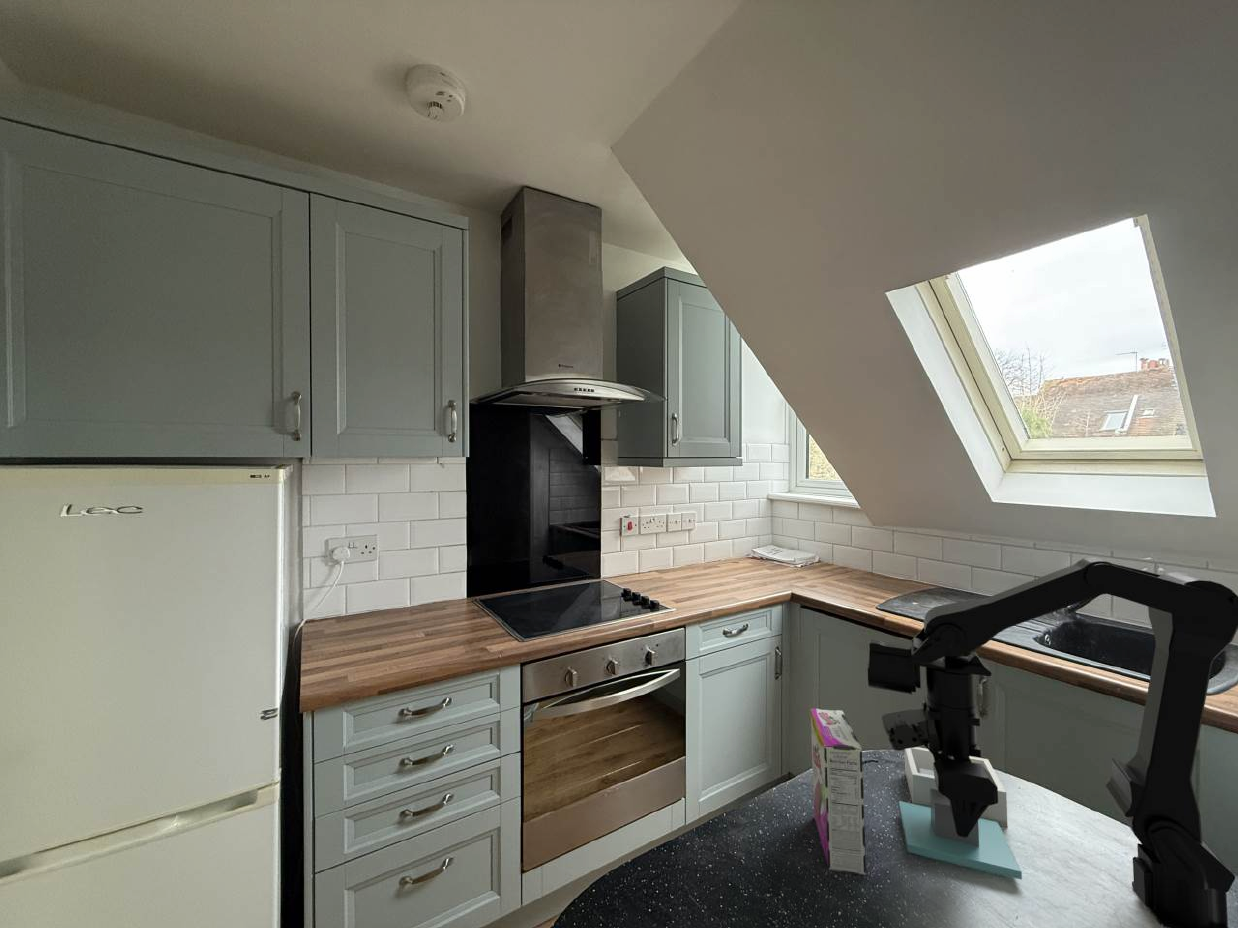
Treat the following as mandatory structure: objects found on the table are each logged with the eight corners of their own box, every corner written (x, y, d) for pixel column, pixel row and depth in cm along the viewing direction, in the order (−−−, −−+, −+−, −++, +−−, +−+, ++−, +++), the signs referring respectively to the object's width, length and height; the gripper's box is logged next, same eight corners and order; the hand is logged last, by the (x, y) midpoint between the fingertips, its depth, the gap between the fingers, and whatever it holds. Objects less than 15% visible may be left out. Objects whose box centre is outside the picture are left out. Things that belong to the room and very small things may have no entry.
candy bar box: (811, 815, 76) (809, 706, 77) (846, 820, 75) (843, 709, 76) (826, 872, 65) (823, 743, 66) (867, 877, 64) (864, 747, 65)
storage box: (988, 790, 82) (987, 759, 82) (1007, 827, 73) (1006, 792, 74) (905, 774, 87) (904, 744, 87) (913, 806, 78) (912, 774, 78)
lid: (998, 836, 72) (996, 789, 72) (1022, 887, 63) (1020, 834, 63) (899, 814, 76) (898, 770, 77) (908, 859, 67) (906, 809, 68)
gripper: (879, 669, 82) (882, 766, 81) (892, 719, 65) (896, 843, 64) (960, 679, 78) (964, 782, 77) (997, 735, 60) (1001, 868, 60)
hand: (954, 814), depth 70 cm, fingers open, 9 cm apart
